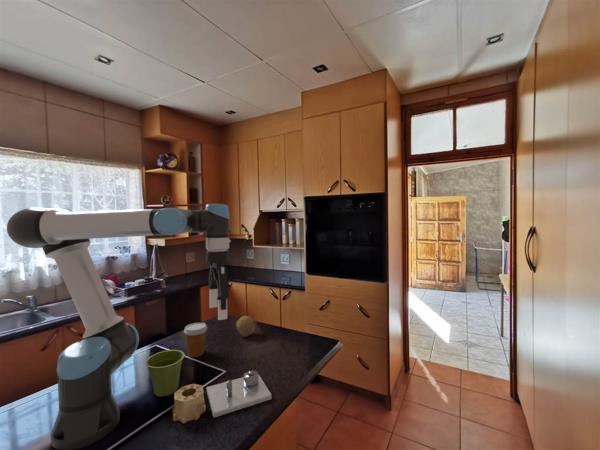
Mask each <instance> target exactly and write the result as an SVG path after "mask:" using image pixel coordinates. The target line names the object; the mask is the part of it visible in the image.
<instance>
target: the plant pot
mask: <svg viewBox="0 0 600 450" xmlns="http://www.w3.org/2000/svg"><path fill="white" fill-rule="evenodd" d="M185 355H186V354H185V352H183V351H182V350H178V349H169V350H163V351H159V352H157V353H155V354H152V355H151V356H150V357H148V358H147V359H146V361H145V365H146V366H147V369H148V371H149V374H150V378H151V383H152V388H153V392H154V395H155V396H156V397H161V398H162V397H166V396H171V395H172V394H174V393H175V392H176V391H177V390H178V388H179V384H180V376H181V370H182V364H183V360H184V358H185Z"/></svg>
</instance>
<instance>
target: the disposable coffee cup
mask: <svg viewBox="0 0 600 450" xmlns="http://www.w3.org/2000/svg"><path fill="white" fill-rule="evenodd" d="M207 330H208V326H207V324H206V323H205V322H193V323H189V324H187V325H186V326H185V327H184V330H183V333H184V334H185V335H184V336H185V342H186V348H187V353H188V357H190V358H198V357H202V355H204V353H205V345H206V337H207V336H206V335H207Z"/></svg>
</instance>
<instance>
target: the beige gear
mask: <svg viewBox="0 0 600 450" xmlns="http://www.w3.org/2000/svg"><path fill="white" fill-rule="evenodd" d="M204 394H205V392H204V387H203V385H201V384H197V383H191V384H187V385H183V386H181V387H179V389H177V390H176V391H175V392H174V393H173V395H174V396H173V398H174V399H173V401H174V403H173V405H174V407H173V408H172V419H173V422H176V421H179V422H181V423H182V424H187V423H188V422H190V421H193V420H195V421H196V420H198V419H200V416H201V415H202V414H203V413H206V411H207V406H206V404H205V403H206V402H205V395H204Z"/></svg>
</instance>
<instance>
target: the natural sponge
mask: <svg viewBox="0 0 600 450" xmlns="http://www.w3.org/2000/svg"><path fill="white" fill-rule="evenodd" d="M255 326H256V325H255V321H254V319H253V318H252V317H251V316H249V315H243V316H241V317H239V319H238V320H237V321H236V330H237V331H238V333H239V334H240V335H241V336H242V337H244V338H245V337H246V338H247V337H248V336H250V335H252V334H254V332H255V330H256V327H255Z"/></svg>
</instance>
